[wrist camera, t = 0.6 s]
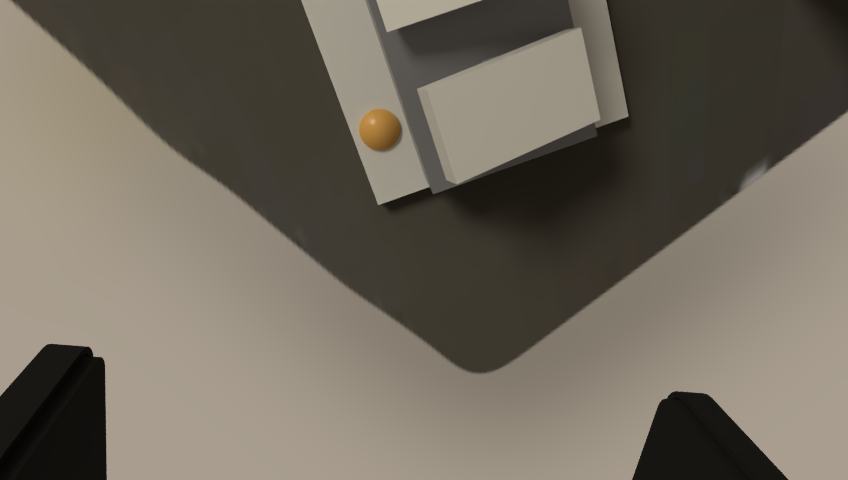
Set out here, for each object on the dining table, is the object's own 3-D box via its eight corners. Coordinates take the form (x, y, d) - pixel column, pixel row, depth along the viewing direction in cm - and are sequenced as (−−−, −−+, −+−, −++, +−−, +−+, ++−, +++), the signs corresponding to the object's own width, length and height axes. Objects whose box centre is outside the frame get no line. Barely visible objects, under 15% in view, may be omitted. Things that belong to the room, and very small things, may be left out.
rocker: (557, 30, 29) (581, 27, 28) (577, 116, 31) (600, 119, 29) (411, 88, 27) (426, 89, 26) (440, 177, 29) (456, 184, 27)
